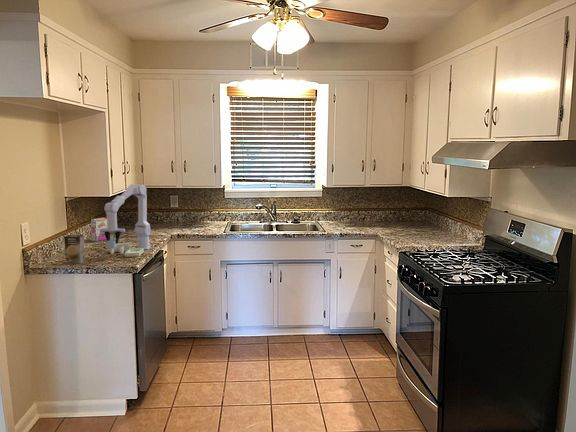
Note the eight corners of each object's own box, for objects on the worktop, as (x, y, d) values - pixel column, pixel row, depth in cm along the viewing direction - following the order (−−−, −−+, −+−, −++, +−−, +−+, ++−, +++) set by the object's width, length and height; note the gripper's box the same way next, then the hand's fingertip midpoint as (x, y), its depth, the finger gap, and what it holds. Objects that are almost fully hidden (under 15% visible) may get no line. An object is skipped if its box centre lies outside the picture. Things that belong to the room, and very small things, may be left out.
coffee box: (65, 263, 261) (63, 236, 259) (70, 261, 267) (68, 234, 265) (81, 263, 261) (79, 236, 259) (85, 260, 267) (84, 234, 265)
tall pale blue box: (111, 245, 282) (111, 233, 281) (118, 245, 282) (117, 233, 281) (107, 248, 272) (106, 236, 271) (114, 248, 272) (113, 236, 271)
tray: (130, 252, 292) (130, 248, 292) (143, 251, 293) (143, 248, 293) (124, 257, 278) (124, 253, 277) (138, 256, 279) (138, 252, 278)
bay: (109, 251, 295) (109, 243, 294) (130, 250, 296) (129, 243, 296) (105, 254, 286) (105, 246, 285) (126, 253, 288) (126, 245, 287)
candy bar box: (96, 241, 325) (94, 219, 323) (91, 241, 328) (90, 219, 325) (108, 239, 335) (107, 217, 333) (104, 238, 337) (102, 217, 335)
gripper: (97, 223, 271) (99, 245, 273) (122, 222, 273) (123, 244, 275) (101, 221, 278) (102, 242, 280) (125, 221, 280) (126, 242, 281)
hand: (113, 243), depth 278 cm, fingers closed on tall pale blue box, 4 cm apart
